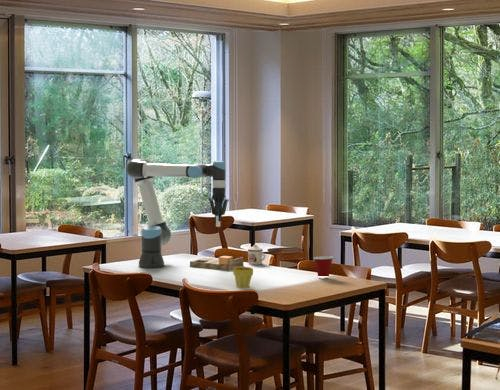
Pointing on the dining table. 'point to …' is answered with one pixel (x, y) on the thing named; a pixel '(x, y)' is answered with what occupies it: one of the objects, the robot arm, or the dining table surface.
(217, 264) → the trap board
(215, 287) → the dining table surface
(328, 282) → the dining table surface
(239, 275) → the plant pot
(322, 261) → the plastic cup
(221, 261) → the block
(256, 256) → the teacup with lid
